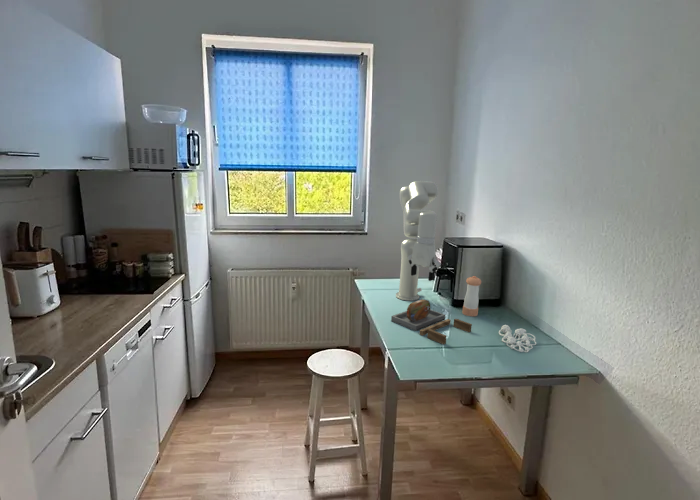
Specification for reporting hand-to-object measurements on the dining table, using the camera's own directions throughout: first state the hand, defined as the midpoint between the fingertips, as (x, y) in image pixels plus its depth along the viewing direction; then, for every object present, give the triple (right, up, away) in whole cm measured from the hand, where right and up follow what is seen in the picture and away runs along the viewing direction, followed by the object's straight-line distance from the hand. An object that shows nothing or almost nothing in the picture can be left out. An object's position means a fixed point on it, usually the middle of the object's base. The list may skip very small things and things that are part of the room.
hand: (422, 277), depth 183 cm
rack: (+9, -23, -9) cm, 26 cm away
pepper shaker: (+26, -19, +16) cm, 36 cm away
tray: (-1, -20, +4) cm, 20 cm away
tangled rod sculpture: (+37, -26, -13) cm, 48 cm away
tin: (-1, -19, +4) cm, 20 cm away
